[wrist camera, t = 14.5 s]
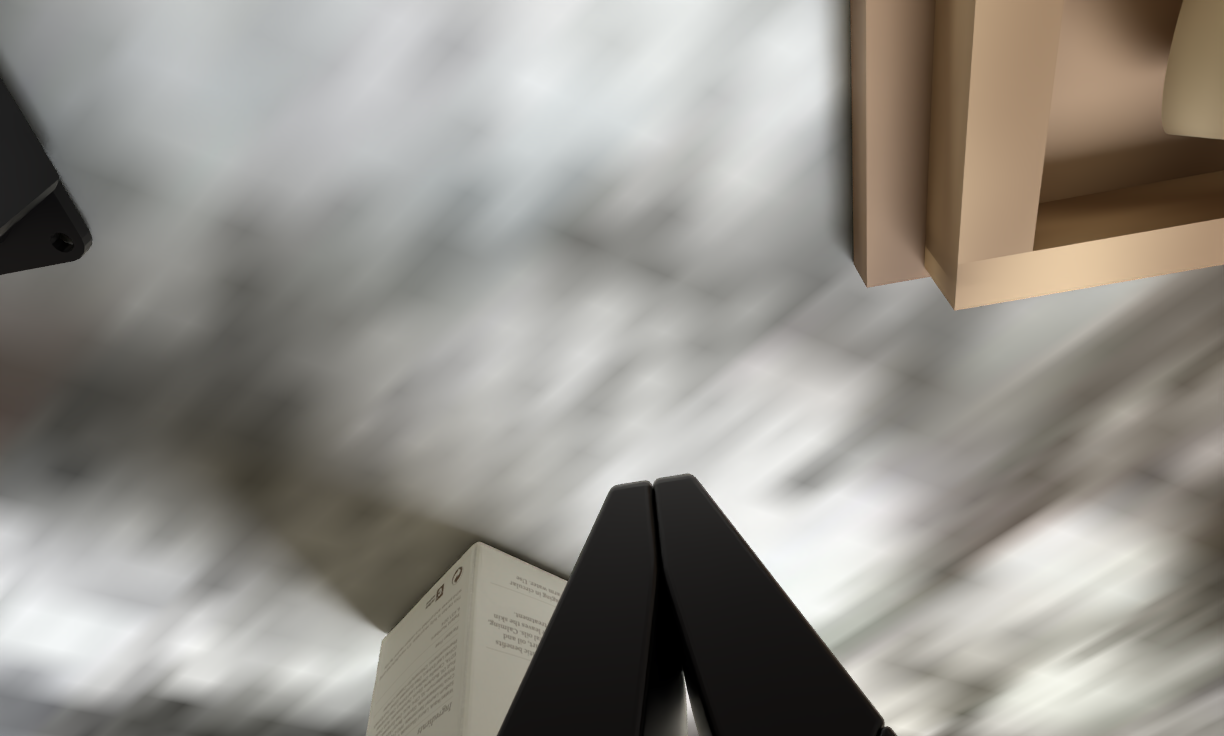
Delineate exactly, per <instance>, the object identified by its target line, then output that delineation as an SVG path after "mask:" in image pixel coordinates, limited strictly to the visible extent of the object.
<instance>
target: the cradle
mask: <svg viewBox="0 0 1224 736" xmlns="http://www.w3.org/2000/svg"><path fill="white" fill-rule="evenodd" d="M1182 3H1183V0H850V24H851V99H852V173H853V248H854V266H855V267H856V269H857V271H858V273H859V274H860V276H861V278H862V280H863V282H864V283H865V285H866V287H867V288H868V287H873V286H879V285H885V284H891V283H896V282H902V281H908V280H914V279H919V278H925V277H932V279H933V280H934V282H935V283H936V285H937V286H938V287H939V289H940V290H941V292H942V293H943V295H944V296H945V298H946V299H947V300H948V302H949V303H950V305H951V306H952V308H953V309H954V310H960V309H966V308H972V307H978V306H984V305H990V304H995V303H1001V302H1007V301H1013V300H1019V299H1025V298H1030V297H1036V296H1042V295H1048V294H1054V293H1060V292H1066V291H1071V290H1077V289H1083V288H1089V287H1095V286H1101V285H1107V284H1112V283H1118V282H1124V281H1130V280H1136V279H1142V278H1147V277H1153V276H1159V275H1165V274H1171V273H1177V272H1183V271H1188V270H1194V269H1200V268H1206V267H1212V266H1218V265H1223V264H1224V140H1222V139H1212V138H1202V137H1191V136H1181V135H1170V134H1166V133H1165V131H1164V129H1163V125H1162V98H1163V88H1164V81H1165V75H1166V69H1167V63H1168V58H1169V54H1170V49H1171V44H1172V40H1173V36H1174V32H1175V28H1176V24H1177V20H1178V16H1179V13H1180V10H1181V6H1182Z"/></svg>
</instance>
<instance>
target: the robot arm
mask: <svg viewBox="0 0 1224 736" xmlns="http://www.w3.org/2000/svg"><path fill="white" fill-rule="evenodd" d="M59 233H63V234H65V235H67V236H68V237H69V238H70V239H71V240H72V241H73V244H69V243H67V242H64V241H63V240H62V239H61V238H60V236H59ZM91 245H92V236H91V234H90V231H89V229H88V228H87V226H86V224H85V223H84V221H83V219H82V218H81V216H80V214H79V213H78V211H77V209H76V208H75V206H74V204H73V203H72V201H71V199H70V198H69V196H68V194H67V193H66V191H65V189H64V188H63V186H62V184H61V183H60V181H59V175H58V173H57V171H56V170H55V168H54V166H53V165H52V163H51V161H50V160H49V158H48V156H47V155H46V153H45V151H44V150H43V148H42V146H41V145H40V143H39V141H38V140H37V138H36V136H35V135H34V133H33V131H32V130H31V128H30V126H29V125H28V123H27V121H26V120H25V118H24V116H23V115H22V113H21V111H20V110H19V108H18V106H17V105H16V103H15V101H14V99H13V98H12V96H11V94H10V93H9V91H8V89H7V88H6V86H5V84H4V83H3V81H2V79H1V78H0V275H2V274H7V273H12V272H18V271H23V270H28V269H34V268H39V267H44V266H50V265H55V264H60V263H66V262H71V261H75V260H77V259H79V258H81V257H82V256H83V255H84V254H85V253H86V252H87V251H88V249H89V248H90V247H91ZM684 677H685V680H684ZM685 682H686V686H687V691H688V695H689V699H690V703H691V708H692V712H693V716H694V720H695V723H696V727H697V731H698V734H699V736H897V735H896V734H895V732H894V731H893V730H892V729H891V728H890V727H888V726H886V727H884V719H883V718H882V716H881V715H880V714H879V712H878V711H877V710H876V709H875V707H874V706H873V705H872V703H871V702H870V701H869V700H868V698H867V697H866V696H865V694H864V693H863V692H862V691H861V689H860V688H859V687H858V685H857V684H856V683H855V682H854V680H853V679H852V678H851V676H850V675H849V674H848V673H847V671H846V670H845V669H844V667H843V666H842V665H841V664H840V662H839V661H838V660H837V658H836V657H835V656H834V655H833V653H832V652H831V651H830V649H829V648H828V647H827V646H826V644H825V643H824V642H823V640H822V639H821V638H820V637H819V635H818V634H817V633H816V631H815V630H814V629H813V628H812V626H811V625H810V624H809V622H808V621H807V620H806V619H805V617H804V616H803V615H802V613H801V612H800V611H799V610H798V608H797V607H796V606H795V604H794V603H793V602H792V600H791V599H790V598H789V597H788V595H787V594H786V593H785V591H784V590H783V589H782V588H781V586H780V585H779V584H778V582H777V581H776V580H775V579H774V577H773V576H772V575H771V573H770V572H769V571H768V570H767V568H766V567H765V566H764V564H763V563H762V562H761V561H760V559H759V558H758V557H757V555H756V554H755V553H754V552H753V550H752V549H751V548H750V546H749V545H748V544H747V543H746V541H745V540H744V539H743V537H742V536H741V535H740V534H739V532H738V531H737V530H736V528H735V527H734V526H733V525H732V523H731V522H730V521H729V519H728V518H727V517H726V516H725V514H724V513H723V512H722V510H721V509H720V508H719V507H718V505H717V504H716V503H715V501H714V500H713V499H712V498H711V496H710V495H709V494H708V492H707V491H706V490H705V489H704V487H703V486H702V485H701V483H700V482H699V481H698V480H697V478H696V477H694V476H693V475H691V474H682V475H675V476H669V477H663V478H658V479H656V480H655V481H654V484H653V486H652V484H651V483H650V482H649V481H638V482H632V483H626V484H620V485H615V486H614V487H612V488H611V489H610V491H609V493H608V495H607V497H606V499H605V501H604V503H603V506H602V508H601V510H600V512H599V514H598V516H597V519H596V521H595V523H594V525H593V527H592V530H591V532H590V534H589V536H588V538H587V540H586V543H585V545H584V547H583V549H582V551H581V553H580V556H579V558H578V560H577V562H576V564H575V566H574V569H573V571H572V573H571V575H570V577H569V579H568V582H567V584H566V586H565V588H564V590H563V592H562V595H561V597H560V599H559V601H558V603H557V606H556V608H555V610H554V612H553V614H552V616H551V619H550V621H549V623H548V625H547V627H546V629H545V632H544V634H543V636H542V638H541V640H540V642H539V645H538V647H537V649H536V651H535V653H534V655H533V658H532V660H531V662H530V664H529V666H528V668H527V671H526V673H525V675H524V677H523V679H522V682H521V684H520V686H519V688H518V690H517V692H516V695H515V697H514V699H513V701H512V703H511V705H510V708H509V710H508V712H507V714H506V716H505V718H504V721H503V723H502V725H501V727H500V729H499V731H498V734H497V736H688V733H687V704H686V689H685Z"/></svg>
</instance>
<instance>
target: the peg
mask: <svg viewBox="0 0 1224 736" xmlns="http://www.w3.org/2000/svg"><path fill="white" fill-rule="evenodd" d="M1162 125H1163V129H1164V131H1165V133H1166V134H1170V135H1181V136H1191V137H1202V138H1212V139H1222V140H1224V0H1183V3H1182V6H1181V10H1180V13H1179V16H1178V20H1177V24H1176V28H1175V32H1174V36H1173V40H1172V44H1171V49H1170V54H1169V58H1168V63H1167V69H1166V75H1165V81H1164V88H1163V98H1162Z"/></svg>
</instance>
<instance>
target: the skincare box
mask: <svg viewBox="0 0 1224 736" xmlns="http://www.w3.org/2000/svg"><path fill="white" fill-rule="evenodd" d="M567 582H568V581H566V580H564V579H562V578H559V577H557V576H555V575H553V574H551V573H548V572H546V571H544V570H542V569H539V568H537V567H535V566H533V565H531V564H529V563H526V562H524V561H522V560H520V559H518V558H516V557H513V556H511V555H509V554H506V553H504V552H502V551H500V550H498V549H496V548H493V547H491V546H489V545H487V544H484V543H482V542H477V543H475V544H474V545H472V546H471V547H470V548H469V549H468V550H467V551H466V552H465V553H464V555H463V556H462V557H461V558H460V559H459V560H458V561H457V562H456V563H455V564H454V565H453V566H452V567H451V568H450V569H449V570H448V571H447V572H446V573H445V574H444V575H443V577H442V578H441V579H440V580H439V581H438V582H437V583H436V584H435V585H434V586H433V587H432V588H431V589H430V590H429V591H428V592H427V593H426V594H425V595H424V597H423V598H422V599H421V600H420V601H419V602H418V603H417V604H416V605H415V606H414V607H413V608H412V610H411V611H410V612H409V613H408V614H407V615H406V616H405V617H404V618H403V619H402V620H401V621H400V622H399V623H398V624H397V625H396V626H395V628H394V629H393V630H392V631H391V632H390V633H389V634H388V635H387V636H386V637H385V638H384V639H383V640H382V644H381V649H380V655H379V662H378V667H377V674H376V681H375V686H374V691H373V696H372V702H371V709H370V715H369V721H368V727H367V733H366V736H497V734H498V731H499V729H500V727H501V725H502V723H503V721H504V718H505V716H506V714H507V712H508V710H509V708H510V705H511V703H512V701H513V699H514V697H515V695H516V692H517V690H518V688H519V686H520V684H521V682H522V679H523V677H524V675H525V673H526V671H527V668H528V666H529V664H530V662H531V660H532V658H533V655H534V653H535V651H536V649H537V647H538V645H539V642H540V640H541V638H542V636H543V634H544V632H545V629H546V627H547V625H548V623H549V621H550V619H551V616H552V614H553V612H554V610H555V608H556V606H557V603H558V601H559V599H560V597H561V595H562V592H563V590H564V588H565V586H566V584H567Z"/></svg>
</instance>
